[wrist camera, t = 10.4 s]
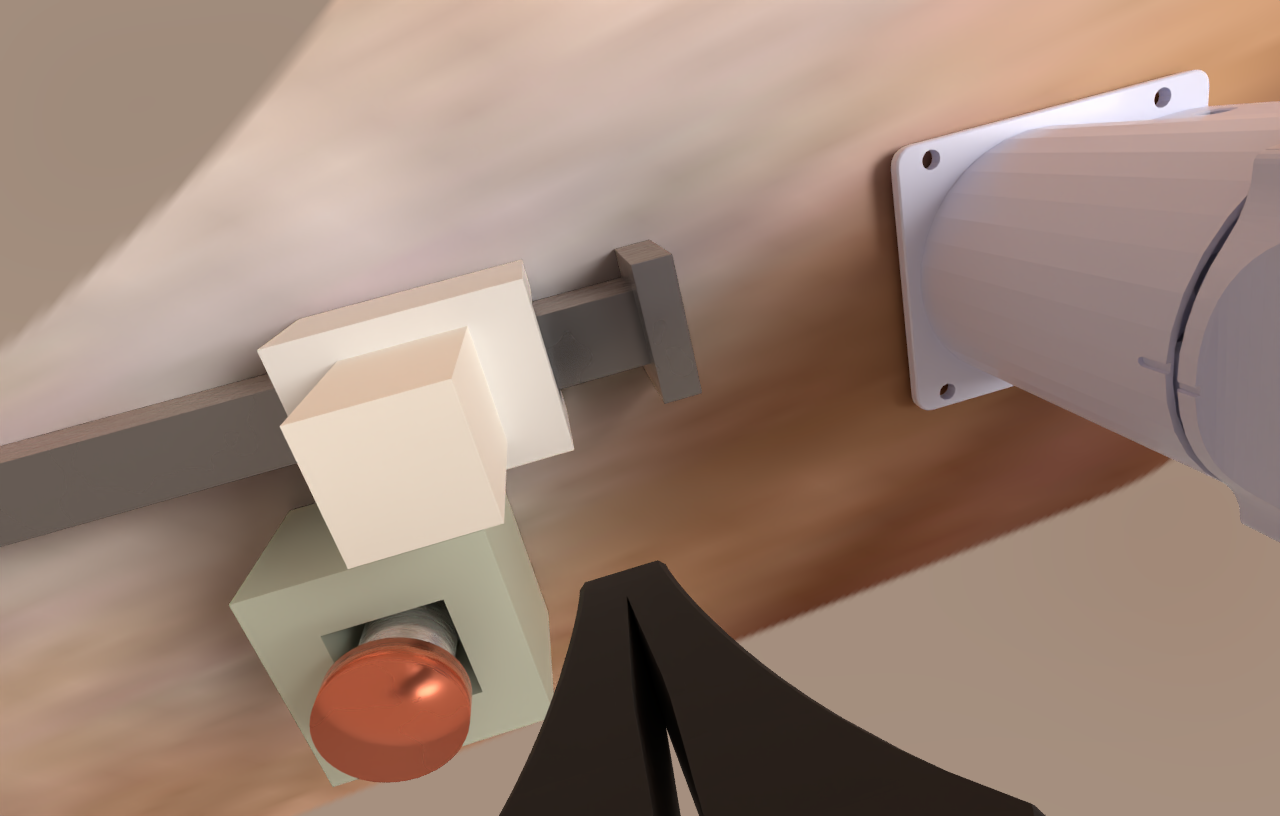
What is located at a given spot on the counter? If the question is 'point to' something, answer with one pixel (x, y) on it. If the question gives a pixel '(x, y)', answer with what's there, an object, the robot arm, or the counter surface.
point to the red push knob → (395, 699)
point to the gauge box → (348, 598)
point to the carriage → (418, 409)
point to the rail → (252, 414)
